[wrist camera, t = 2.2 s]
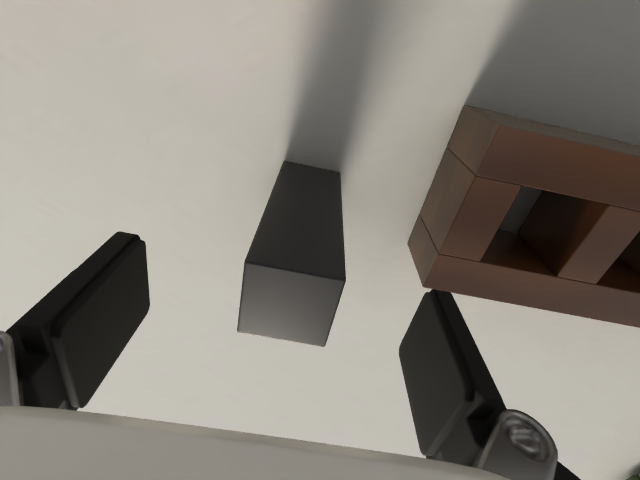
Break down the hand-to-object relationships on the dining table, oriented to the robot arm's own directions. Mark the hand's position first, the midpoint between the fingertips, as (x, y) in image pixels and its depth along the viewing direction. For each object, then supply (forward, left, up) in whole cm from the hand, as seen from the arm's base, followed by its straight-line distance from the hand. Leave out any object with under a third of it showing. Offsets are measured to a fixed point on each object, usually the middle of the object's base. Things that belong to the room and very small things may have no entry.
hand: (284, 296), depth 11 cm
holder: (-2, +16, -8) cm, 18 cm away
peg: (0, 0, -8) cm, 8 cm away
